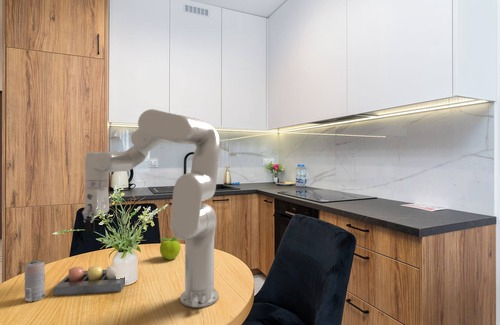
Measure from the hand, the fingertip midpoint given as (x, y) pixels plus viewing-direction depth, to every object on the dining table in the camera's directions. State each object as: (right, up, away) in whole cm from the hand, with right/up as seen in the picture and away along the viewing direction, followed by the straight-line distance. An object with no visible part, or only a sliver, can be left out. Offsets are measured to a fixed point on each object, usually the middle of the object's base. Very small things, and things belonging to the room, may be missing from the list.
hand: (96, 229), depth 112 cm
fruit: (+21, -20, +25) cm, 38 cm away
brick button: (-5, -17, -5) cm, 19 cm away
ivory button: (+8, -17, -3) cm, 19 cm away
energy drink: (-13, -20, -14) cm, 28 cm away
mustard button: (+1, -17, -4) cm, 18 cm away
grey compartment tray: (+1, -20, -4) cm, 20 cm away
